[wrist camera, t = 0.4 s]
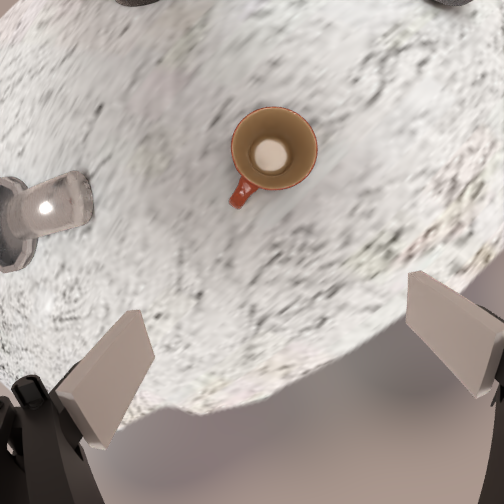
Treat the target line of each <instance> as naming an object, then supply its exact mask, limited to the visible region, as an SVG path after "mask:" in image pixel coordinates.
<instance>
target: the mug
mask: <svg viewBox="0 0 504 504" xmlns="http://www.w3.org/2000/svg"><path fill="white" fill-rule="evenodd" d="M317 151H318V149H317V140H316V137H315V134H314V132H313V130H312V128H311V126H310V125H309V124H308V122H307V121H306V120H305V119H304V118H303V117H301V116H300V115H299V114H297V113H296V112H294V111H292V110H289V109H286V108H282V107H265V108H261V109H258V110H255V111H253V112H251V113H250V114H248V115H247V116H246V117H245V118H243V119H242V120H241V122H240V123H239V124H238V126H237V127H236V129H235V131H234V134H233V137H232V141H231V154H232V159H233V162H234V165H235V167H236V169H237V171H238V172H239V173H240V174H241V175H242V176H241V178H240V180H239V184H238V186H237V188H236V190H235V191H234V193H233V194H232V196H231V197H230V199H229V204H230V205H231V206H232V207H234V208H236V209H241V208H242V206H243V205H244V203H245V202H246V201H247V199H248V198H249V197H250V195H252V194H253V193H254V192H256V191H257V190H258V189H259V188H261V189H265V190H283V189H287V188H290V187H293V186H295V185H297V184H298V183H300V182H301V181H303V180H304V179H305V178H306V177H307V176H308V175H309V173H310V172H311V170H312V169H313V167H314V165H315V162H316V158H317Z"/></svg>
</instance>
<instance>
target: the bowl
mask: <svg viewBox="0 0 504 504" xmlns="http://www.w3.org/2000/svg"><path fill="white" fill-rule="evenodd" d="M435 1H437V2H440V3H442V4H445V5H450V6H462V5H465V4H467V3H469V2H471V1H473V0H435Z"/></svg>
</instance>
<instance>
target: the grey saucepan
mask: <svg viewBox="0 0 504 504" xmlns="http://www.w3.org/2000/svg"><path fill="white" fill-rule="evenodd" d="M92 211H93V197H92V192H91V189H90V186H89V183H88V181H87V180H86V178H85V177H84V176H83V174H81V173H80V172H78V171H71V172H68V173H65V174H63V175H60V176H58V177H55V178H53V179H50V180H48V181H45V182H43V183H40V184H38V185H36V186H33V187H31V188H29V189H28V188H27V186H26V185H25V184H24V183H23V182H22V181H21V180H19V179H17V178H15V177H1V178H0V271H1V272H3V273H8V272H13V271H18V270H20V269H23V268H24V267H26V266H27V265H28V264H29V263H30V261H31V260H32V258H33V256H34V254H35V251H36V247H37V242H38V237H41V236H45V235H48V234H52V233H56V232H59V231H63V230H67V229H71V228H74V227H78V226H82V225H85V224H87V223H88V221H89V220H90V218H91V215H92Z"/></svg>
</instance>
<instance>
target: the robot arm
mask: <svg viewBox="0 0 504 504" xmlns="http://www.w3.org/2000/svg"><path fill="white" fill-rule="evenodd" d="M116 1H117V2H118V3H119V4H121V5H125V6H141V5H146V4H150V3H153V2H156V1H158V0H116ZM406 324H407V325H408V326H409V327H410V328H411V329H412V330H413V331H414V332H415V333H416V334H417V335H418V336H419V337H420V338H421V339H422V340H423V341H424V342H425V343H426V344H427V346H428V347H429V348H430V349H431V350H432V351H433V352H434V353H435V354H436V355H437V356H438V357H439V358H440V360H441V361H442V362H443V363H444V364H445V365H446V366H447V367H448V368H449V369H450V370H451V372H453V374H454V375H455V376H456V377H457V378H458V379H459V380H460V382H461V383H462V384H463V385H464V386H465V387H466V388H467V389H468V391H469V392H470V393H471V394H472V395H473V396H474V398H475V399H477V398H479V397H481V396H482V395H484V394H486V393H488V392H490V389H491V387H492V384H493V382H494V379H496V380H497V381H498V382H499V386H498V388H497V391H496V393H495V396H494V398H493V401H492V403H491V406H493V405H494V403H495V402H496V410H495V421H494V429H493V438H492V444H491V450H490V456H489V461H488V466H487V471H486V475H485V479H484V483H483V487H482V491H481V494H480V498H479V502H478V504H504V320H503V319H501V318H500V317H497V315H495V314H494V313H492V312H491V311H489V310H488V309H486V308H485V307H482V306H479V305H476V304H474V303H473V302H471V301H469V300H468V299H466V298H465V297H463V296H462V295H460V294H459V293H457V292H455V291H454V290H452V289H451V288H449V287H447V286H446V285H444V284H442V283H441V282H439V281H437V280H436V279H434V278H432V277H431V276H429V275H427V274H426V273H424V272H422V271H416V272H411V273H408V294H407V311H406ZM154 359H155V355H154V352H153V349H152V346H151V343H150V340H149V337H148V334H147V331H146V328H145V324H144V321H143V318H142V314H141V311H140V310H132V311H126V312H125V314H124V315H123V316H122V317H121V318H120V319H119V320H118V321H117V322H116V323H115V324H114V325H113V326H112V327H111V328H110V329H109V331H108V332H107V333H106V334H105V335H104V336H103V337H102V338H101V339H100V340H99V341H98V343H97V344H96V345H95V346H94V347H93V348H92V349H91V350H90V351H89V352H88V354H87V355H86V356H85V357H84V358H83V359H82V360H80V361H79V362H77V363H76V364H74V366H73V367H72V368H71V369H70V370H69V371H68V372H69V373H66V375H65V376H64V378H62V379H61V380H60V381H59V382H58V384H57V385H56V386H55V387H54V388H53V389H52V391H51V392H50V393H49V394H48V392H47V390H46V389H45V387H44V385H43V383H42V381H41V379H40V377H39V376H37V375H28V376H24V377H22V378H20V379H19V380H17V381H16V382H15V383H14V384H13V385H12V388H11V390H12V392H13V394H14V395H15V397H16V399H17V400H18V402H19V404H20V406H21V407H14V406H13V404H12V403H11V401H10V399H9V398H8V397H6V396H1V397H0V504H105V503H104V501H103V498H102V496H101V494H100V492H99V489H98V487H97V484H96V482H95V480H94V477H93V474H92V472H91V469H90V466H89V464H88V461H87V458H86V455H85V452H84V449H83V448H82V446H81V445H80V443H79V442H80V440H81V439H82V437H84V439H85V440H86V441H87V443H88V444H89V446H90V447H93V448H99V449H103V450H107V448H108V446H109V444H110V442H111V440H112V438H113V436H114V434H115V432H116V430H117V428H118V426H119V425H120V423H121V421H122V419H123V417H124V415H125V413H126V411H127V409H128V407H129V405H130V403H131V401H132V400H133V398H134V396H135V394H136V392H137V390H138V388H139V386H140V384H141V383H142V381H143V379H144V377H145V375H146V373H147V371H148V370H149V368H150V366H151V364H152V362H153V360H154ZM7 443H8V444H9V445H10V447H11V448H12V449H13V454H10V452H9V451H8V450H7Z"/></svg>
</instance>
